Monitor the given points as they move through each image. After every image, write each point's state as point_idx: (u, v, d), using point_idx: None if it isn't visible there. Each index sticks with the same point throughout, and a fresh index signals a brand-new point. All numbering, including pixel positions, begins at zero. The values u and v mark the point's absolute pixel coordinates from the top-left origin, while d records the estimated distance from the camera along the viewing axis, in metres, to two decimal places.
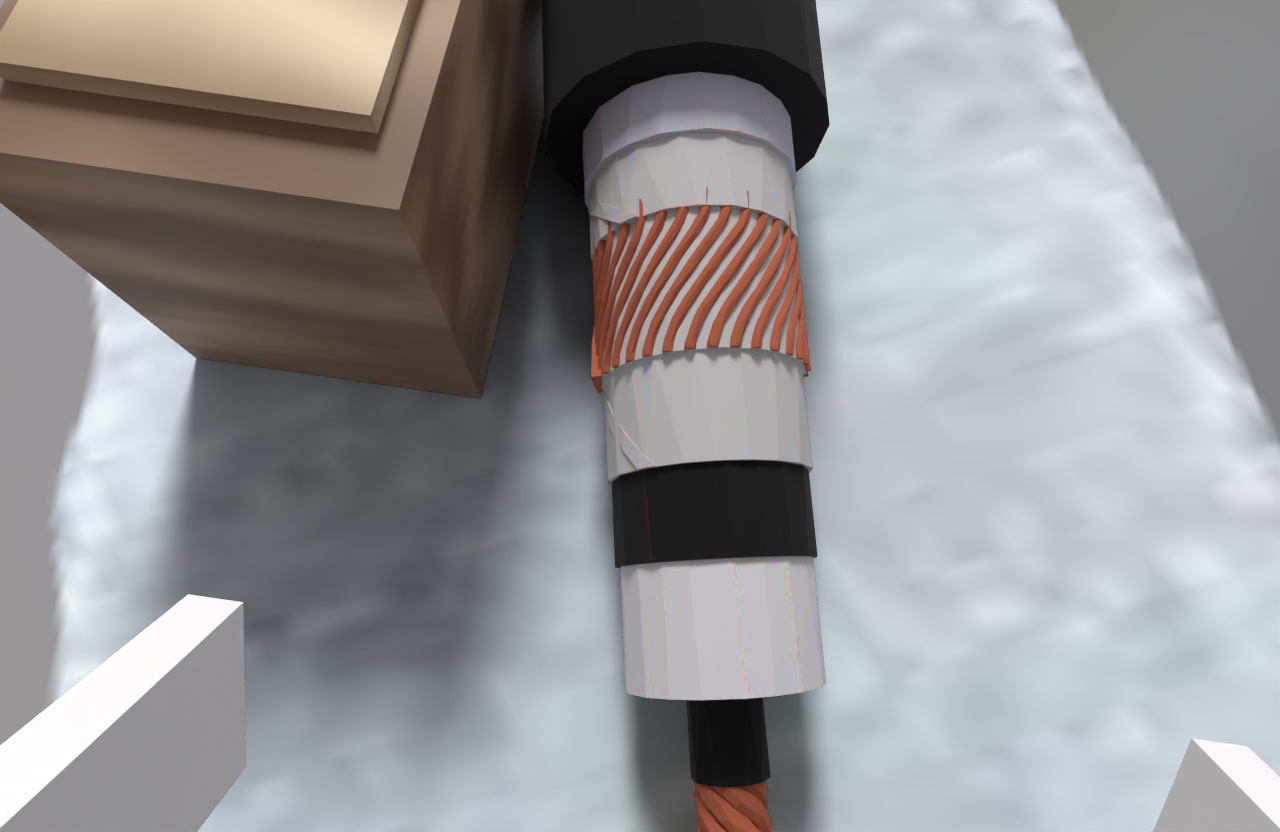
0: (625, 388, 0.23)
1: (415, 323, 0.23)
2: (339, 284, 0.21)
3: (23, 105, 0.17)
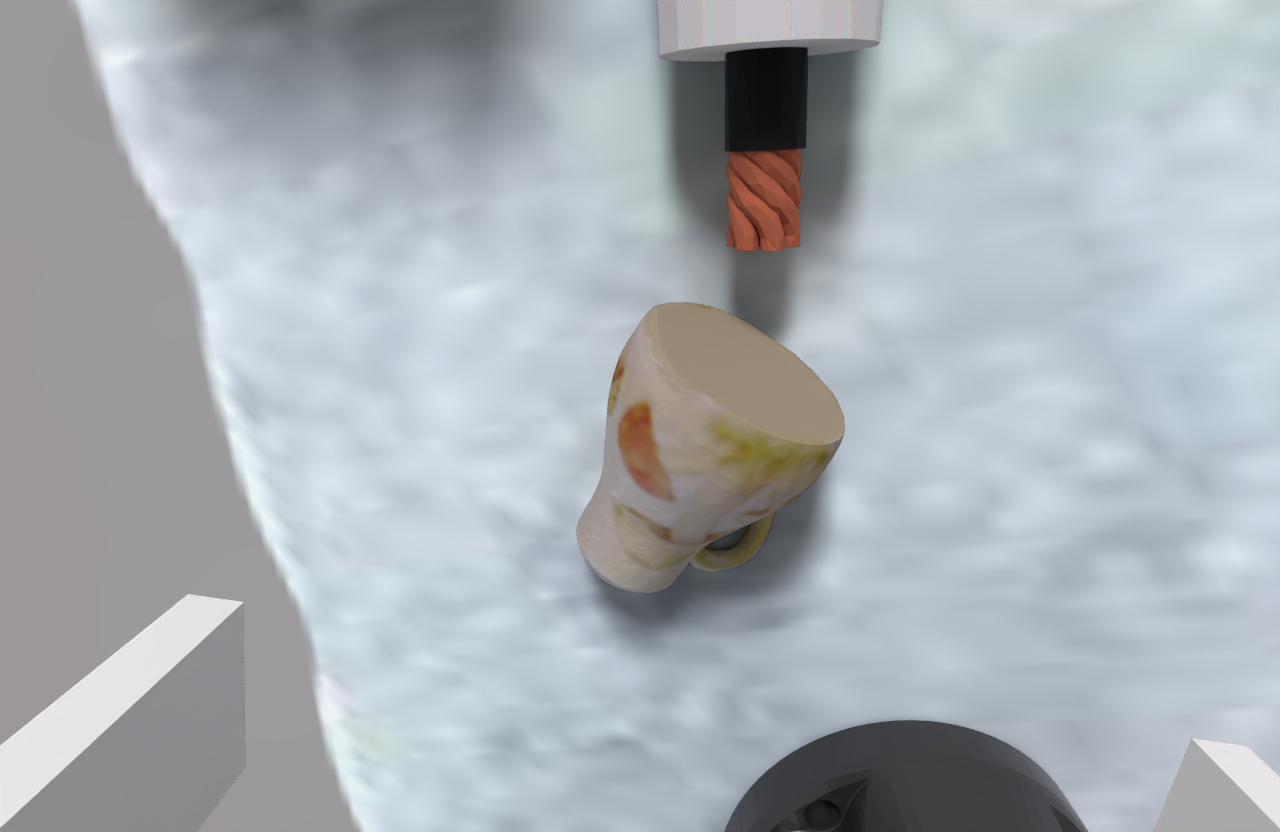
0: None
1: None
2: None
3: None
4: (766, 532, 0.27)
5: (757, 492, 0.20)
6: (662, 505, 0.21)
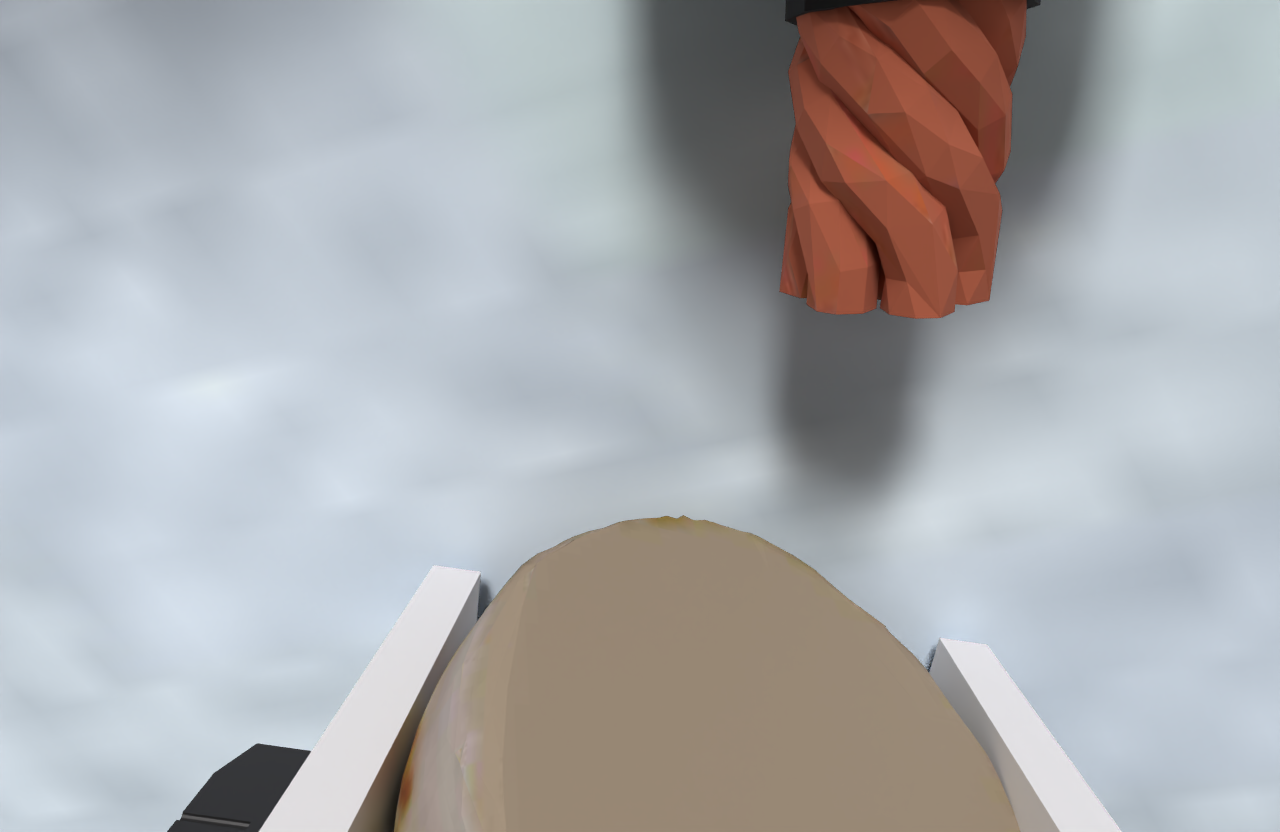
0: None
1: None
2: None
3: None
4: None
5: None
6: None
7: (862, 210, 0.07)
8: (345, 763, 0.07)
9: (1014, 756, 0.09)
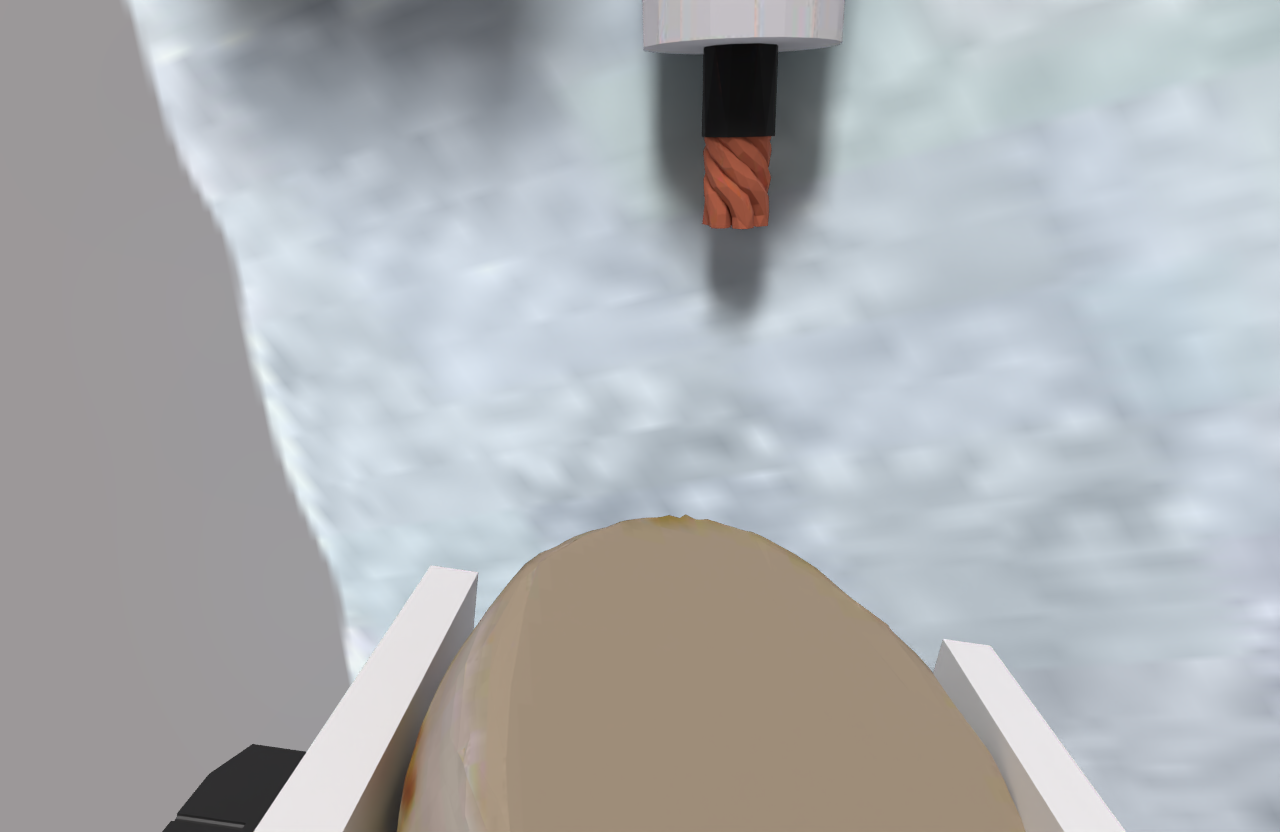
0: None
1: None
2: None
3: None
4: None
5: None
6: None
7: (723, 195, 0.24)
8: (340, 764, 0.07)
9: (1018, 758, 0.09)
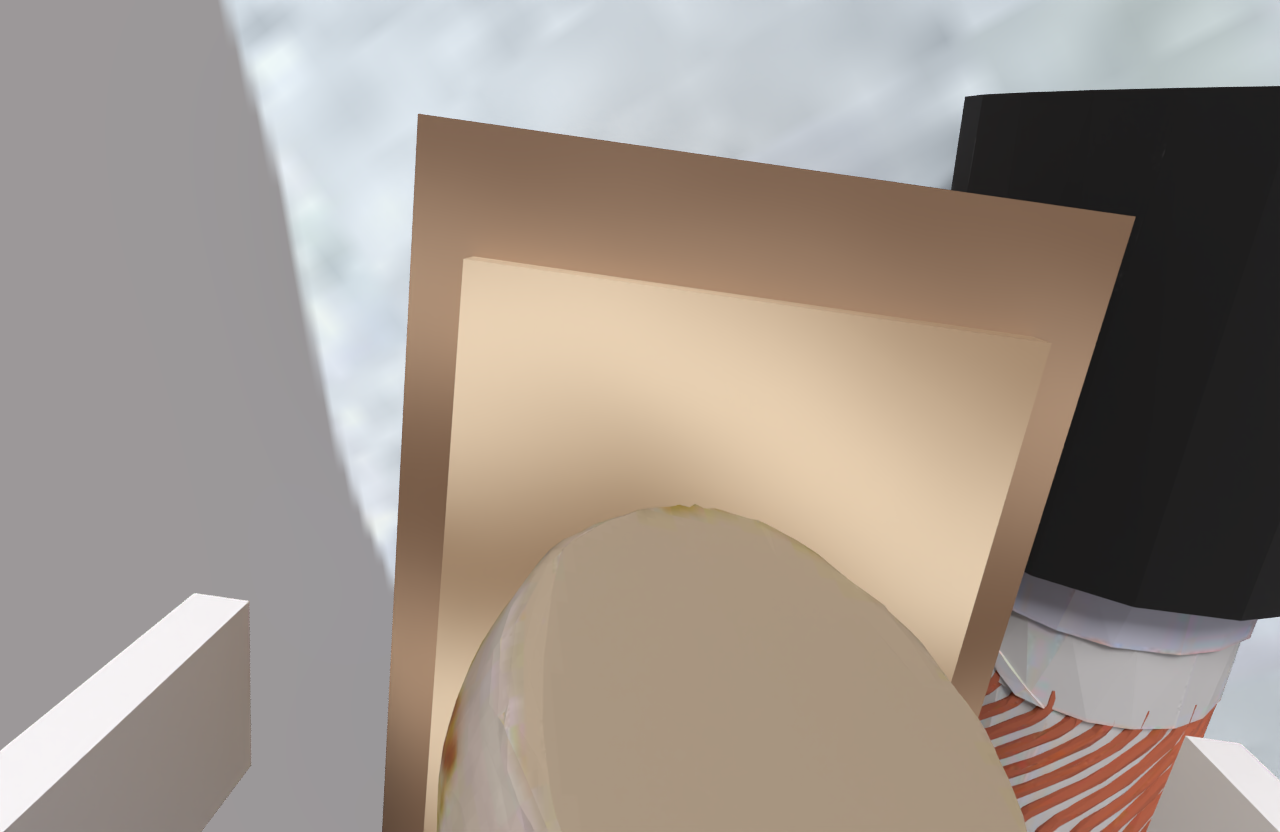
0: None
1: None
2: None
3: None
4: None
5: None
6: None
7: None
8: None
9: None
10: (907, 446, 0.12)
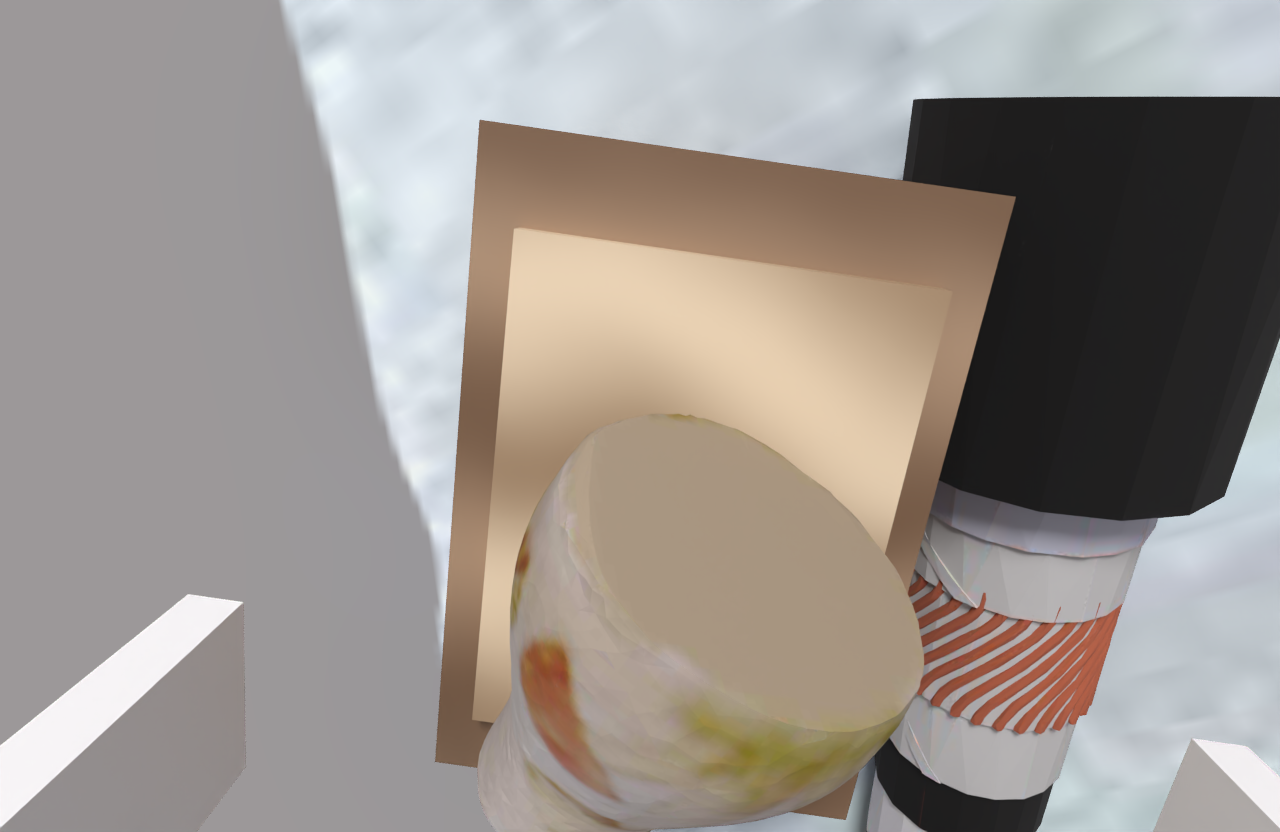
0: (923, 710, 0.26)
1: None
2: None
3: None
4: None
5: (771, 808, 0.11)
6: (598, 797, 0.12)
7: None
8: None
9: None
10: (847, 370, 0.16)
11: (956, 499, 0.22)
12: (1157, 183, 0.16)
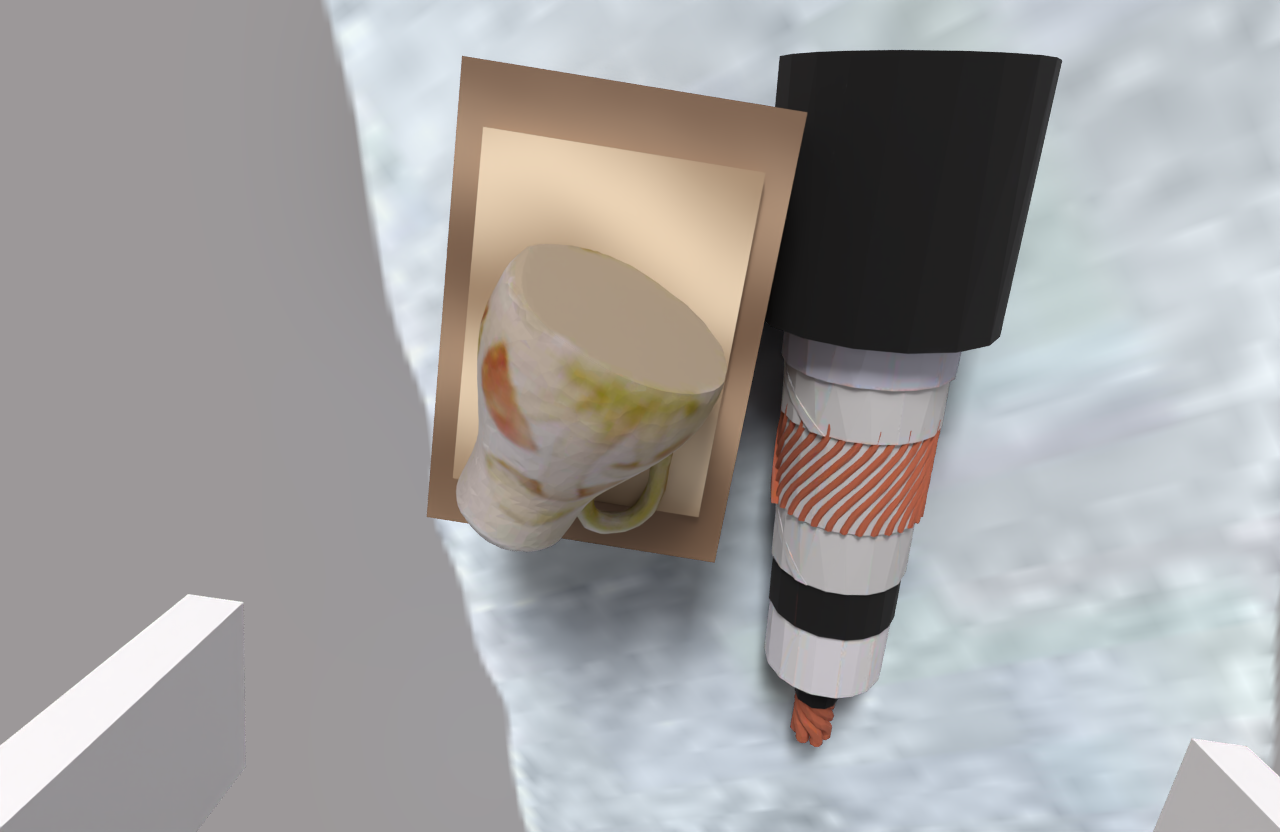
0: (794, 528, 0.34)
1: None
2: None
3: None
4: (660, 493, 0.26)
5: (620, 442, 0.19)
6: (526, 455, 0.20)
7: (806, 729, 0.40)
8: None
9: None
10: (700, 225, 0.24)
11: (808, 353, 0.31)
12: (910, 108, 0.24)
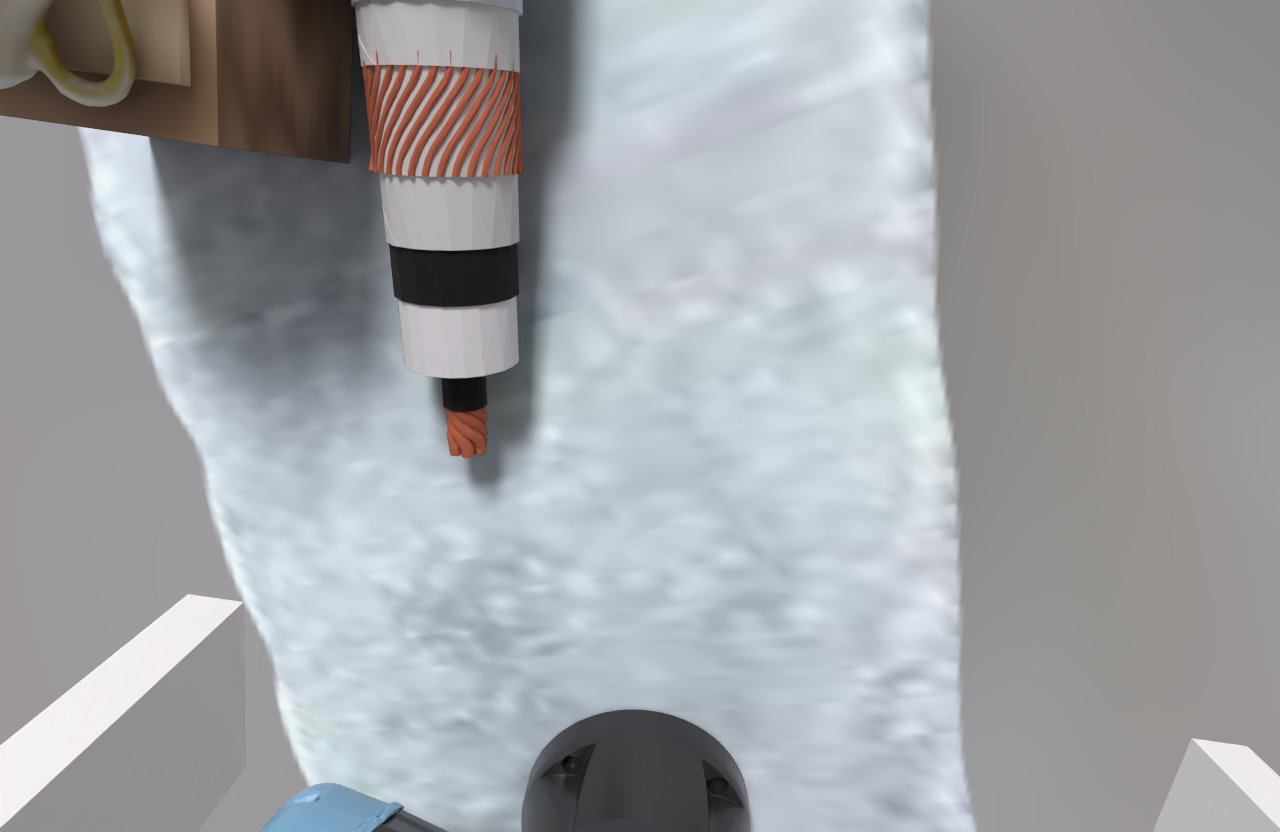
0: (383, 188, 0.35)
1: None
2: None
3: None
4: (124, 50, 0.26)
5: None
6: None
7: (454, 439, 0.41)
8: None
9: None
10: None
11: None
12: None
